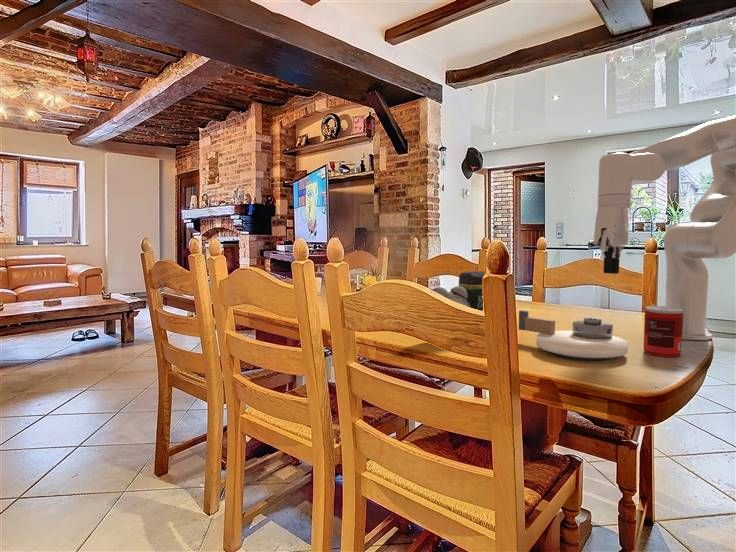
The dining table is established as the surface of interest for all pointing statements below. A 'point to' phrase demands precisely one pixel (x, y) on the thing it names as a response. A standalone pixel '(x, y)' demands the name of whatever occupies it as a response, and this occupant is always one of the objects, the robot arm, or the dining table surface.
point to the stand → (580, 357)
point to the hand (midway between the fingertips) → (611, 273)
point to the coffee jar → (473, 288)
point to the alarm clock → (454, 294)
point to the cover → (592, 329)
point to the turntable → (570, 340)
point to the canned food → (663, 331)
